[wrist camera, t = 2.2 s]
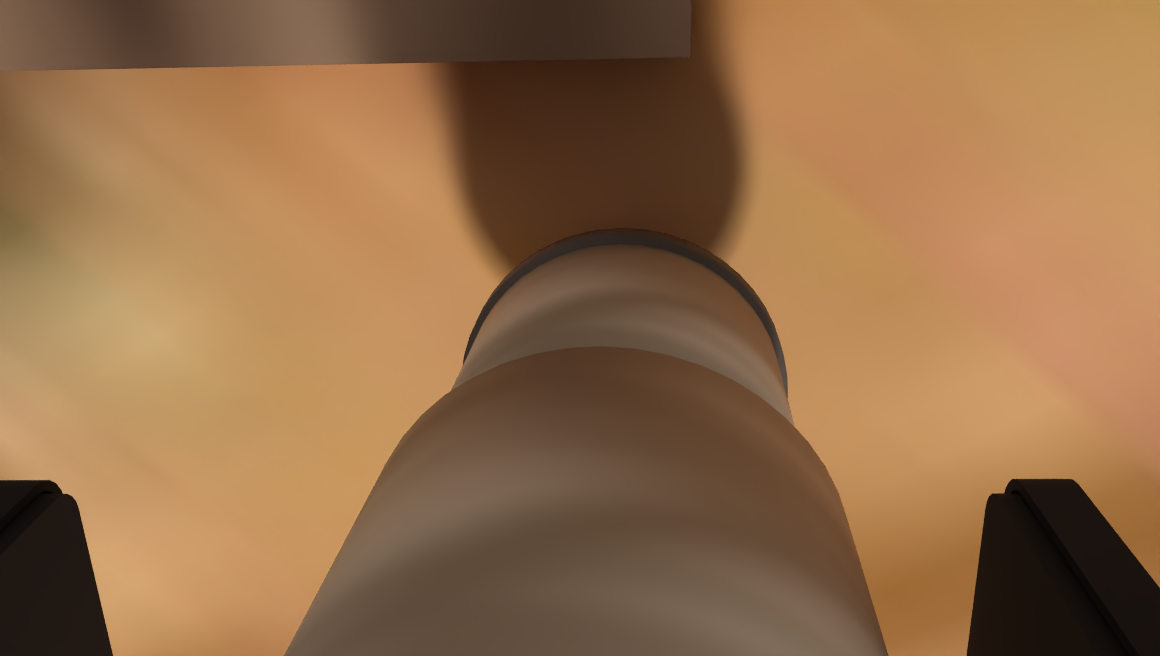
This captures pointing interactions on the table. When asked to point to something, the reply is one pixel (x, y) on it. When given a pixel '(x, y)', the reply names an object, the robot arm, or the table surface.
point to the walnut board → (333, 32)
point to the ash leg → (604, 482)
